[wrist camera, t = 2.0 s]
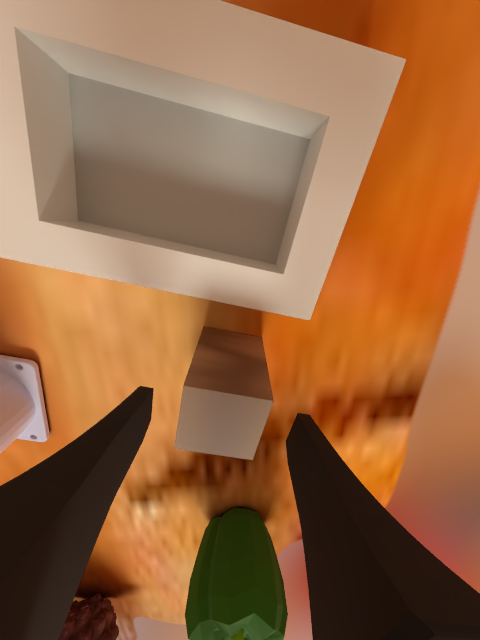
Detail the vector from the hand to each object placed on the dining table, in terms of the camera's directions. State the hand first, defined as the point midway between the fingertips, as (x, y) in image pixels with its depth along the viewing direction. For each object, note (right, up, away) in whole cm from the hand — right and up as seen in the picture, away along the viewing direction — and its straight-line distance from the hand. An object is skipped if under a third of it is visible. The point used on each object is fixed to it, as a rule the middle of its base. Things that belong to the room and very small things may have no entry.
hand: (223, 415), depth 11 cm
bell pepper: (+1, -17, +13) cm, 21 cm away
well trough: (-2, +12, +1) cm, 12 cm away
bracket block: (0, +2, +5) cm, 5 cm away
